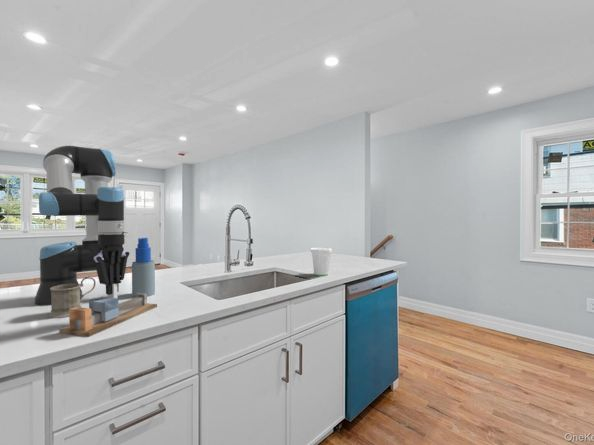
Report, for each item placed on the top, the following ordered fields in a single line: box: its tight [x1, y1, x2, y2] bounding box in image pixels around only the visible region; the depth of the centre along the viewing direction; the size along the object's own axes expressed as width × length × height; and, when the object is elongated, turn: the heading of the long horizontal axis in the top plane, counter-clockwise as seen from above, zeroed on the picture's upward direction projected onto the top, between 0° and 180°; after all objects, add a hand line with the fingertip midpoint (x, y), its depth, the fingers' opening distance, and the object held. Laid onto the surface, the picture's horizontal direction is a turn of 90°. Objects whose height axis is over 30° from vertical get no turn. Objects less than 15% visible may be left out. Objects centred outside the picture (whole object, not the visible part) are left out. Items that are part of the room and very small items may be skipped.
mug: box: [47, 275, 96, 319], centre depth 106 cm, size 14×10×12 cm
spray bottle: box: [131, 237, 156, 298], centre depth 128 cm, size 9×9×25 cm
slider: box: [88, 296, 119, 322], centre depth 96 cm, size 6×5×6 cm
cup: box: [310, 247, 333, 277], centre depth 172 cm, size 12×12×15 cm
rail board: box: [59, 293, 158, 337], centre depth 99 cm, size 11×28×7 cm, turn 166°
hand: (112, 302), depth 99 cm, fingers closed
